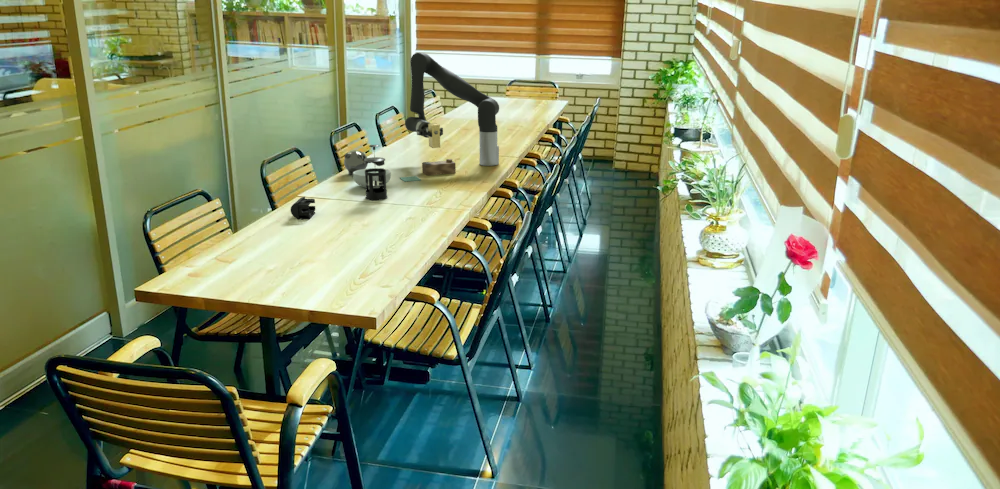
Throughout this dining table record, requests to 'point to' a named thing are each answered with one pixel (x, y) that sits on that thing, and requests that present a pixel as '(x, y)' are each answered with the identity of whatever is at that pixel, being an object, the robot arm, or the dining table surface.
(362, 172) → the cereal bowl
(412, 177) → the mat
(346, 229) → the dining table surface
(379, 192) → the french press
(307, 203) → the end cap
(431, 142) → the brushed brass block
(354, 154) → the piggy bank
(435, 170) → the body
